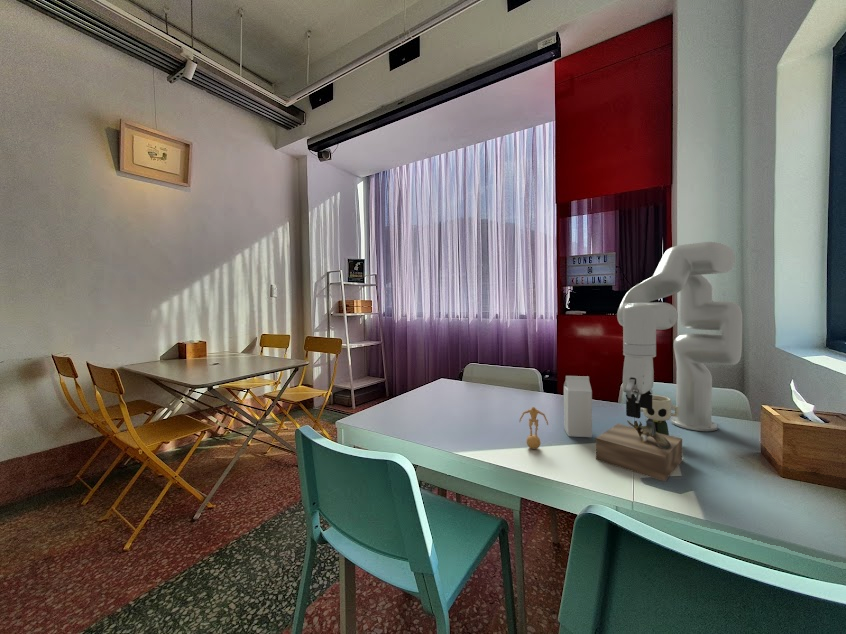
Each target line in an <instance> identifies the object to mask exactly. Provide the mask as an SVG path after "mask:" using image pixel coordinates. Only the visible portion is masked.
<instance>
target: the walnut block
mask: <svg viewBox="0 0 846 634" xmlns="http://www.w3.org/2000/svg"><path fill="white" fill-rule="evenodd" d="M642 431H643V429H641V432H642ZM659 434H660V433H659ZM661 435H662V436H663V437H665V438H666V439H667V440H668V441H669V443H670V445H671V447H670V449H669V450H668V449H667V450H666V449H662V448H659V446H658V444H657V442H656V440H655V439H654V438H653V437H651V436H648V438H647V440H646V441H645V442H643V443H642V441H643V434H642V435H641V436H639V434H638V432H637V430H636V429H635V428H634V427H633V426H631V425H625V424H621V423H617V424H615V425H614V426H612V427H610V428H609V429H608V430H606V431H605V432H603V433H601V434H600V435H598V436H596V437H595V460H597V461H599V462H603V463H606V464H609V465H612V466H616V467H618V468H621V469H624V470H627V471H630V472H634V473H636V474H640V475H643V476H646V477H650V478H652V479H656V480H659V481H661V482H666V481H667V480H668V478H670V476H671V475H672V474H673V472H674V471H675V470H676V469H677V468H678V466H679V465H680V464H681V462H682V461H683V438H680V437H679V436H678V437H677V436H672V435H670V434H669V435H665V434H661Z"/></svg>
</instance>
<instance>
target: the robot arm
mask: <svg viewBox="0 0 846 634" xmlns="http://www.w3.org/2000/svg"><path fill="white" fill-rule="evenodd" d="M735 263H736V256H735V253H734V250H733V249H732V248H731V247H730V246H729V245H727V244H724V243H720V242H717V241H703V242H702V241H701V242H695V243H688V244H687V243H686V244H679V245H674V246H671V247H669V248H667V249H666V250H665V252H664V253H663V255H662V256H661V259H660V260H659V262H658V265H657V267H656V268H655V270H654V273H653V274H652V276H651V277H649V278H647V279H644V280H642V282H640V283H637V284H636V285H635V286H633V287H631V288H630V289H629V290H628V291H627V292H626V293H625V295H624V296H623V298H622V300H621V302H620V304H619V307H618V308H617V313H616V318H617V322H618V324H619V325H620V326H622V330H623V331H622V333H623V334H622V335H623V336H622V338H623V339H622V341H623V342H622V347H623V348H622V351H623V352H622V355H623V356H624V359H623V360H624V361H623V369H622V391H623V392H624V393H625V402H626V403H625V404H626V405H625V413H626V416H627V417H630V418H634V419H640V418H641V417H642V416H641V415H642V414H641V412H642V411H641V409H644V408H646V409H652V395H653V387H654V381H655V379H654V378H655V377H654V376H655V375H654V373H655V371H654V358H655V357H657V330H668V329H671V328H672V327H674V326H675V324H676V323H677V321H678V311H677V309H676V307H675V306H674V305H673V304H671V303H668V302H662V301H661V302H658V301H657V300H659V299H664V298H667V297H670V296H672V295H676V294H677V293H679V292H680V296H679V297H680V298H679V299H680V300H679V301H680V302H679V303H680V304H679V319H680V320H679V322H680V325H681V326H682V327H683V328H684V329H688V330H697V331H698V330H699V331H718V332H721V334H708V333H695V332H694V333H690V332H689V333H688V332H687V333H681V334H680V335H678V336H676V337H675V338H674V340H673V351H674V357H675V363H676V364H675V365H676V366H675V367H676V396H675V397H676V401H675V403H676V405H675V406H678V407H679V415H678V416H677V417H676V416H671V418H670V422H671V423H672V424H673V425H675V426H677V427H679V428H683V429H686V430H690V431H691V430H692V431H698V432H714V431H717V430H718V424H717V423H715V422H713V421H712V416H713V415H712V409H713V404H712V402H713V401H712V399H713V397H712V396H713V395H712V394H713V391H712V390H713V377H712V372H711V371H710V370H709V368H708V367H707V366H706V365H705V364H716V365H723V366H724V365H726V366H733V365H737V364H738V363H739V362H740V361H741V358H742V351H743V312H742V309H741V307H740V305H739V304H738V303H736V302H733V301H725V300H724V301H721V300H720V301H715V300H714V301H713V285H712V283H710V281H709V280H708V279H707V278H705V276H703V275H713V274H714V275H716V274H725V273H728V272H730V271H731V270H732V269H733V268H734V265H735ZM653 301H656V302H653Z"/></svg>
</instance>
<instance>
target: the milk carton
mask: <svg viewBox="0 0 846 634" xmlns="http://www.w3.org/2000/svg"><path fill="white" fill-rule="evenodd" d="M563 429H564V431H565V433H566V434H567V437H575V438H576V437H577V438H578V437H579V438H592V436H593V390H592V386H591V383H590V376H588V375H587V376H584V375H583V376H580V375H579V376H578V375H565V381H564V383H563Z"/></svg>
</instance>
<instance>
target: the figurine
mask: <svg viewBox="0 0 846 634" xmlns="http://www.w3.org/2000/svg"><path fill="white" fill-rule="evenodd" d="M528 413H529V415H530V418H529V419H528V427H529V430H530V431H529V435H528V437H527V438H526V445H527V446H528V447H529V448H530V449H532V450H536V449H539V448H540V446H541V439H540V437H539V436H538V430H539V428H538V427H539V419H538V418H537V416H538V414H539V415H542V416H543V418H544V420H545V422H546V425H549V422H548V421H549V420H548V419H547V416H546V414H545V413H544V412H541V411H540V410H538V409H537V408H536V407H535V406H532V407H531V409H530V408H529V409H528V410H525V411H523V412H522V414H521V416H520V418H519V423H521V421H522V419H523V417H524V415H526V414H528ZM533 424H534V426H535V428H534V430H535V431H534V434H533V428H532V426H533Z"/></svg>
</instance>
